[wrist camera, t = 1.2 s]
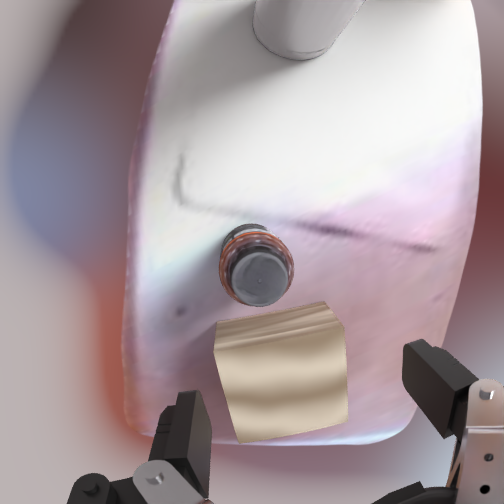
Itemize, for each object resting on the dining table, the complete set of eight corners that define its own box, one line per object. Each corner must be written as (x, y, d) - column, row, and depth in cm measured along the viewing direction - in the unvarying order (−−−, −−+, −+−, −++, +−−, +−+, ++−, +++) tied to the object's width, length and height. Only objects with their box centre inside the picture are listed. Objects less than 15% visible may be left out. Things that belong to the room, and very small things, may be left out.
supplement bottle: (275, 282, 34) (294, 325, 23) (218, 275, 34) (212, 317, 23) (283, 226, 33) (308, 244, 22) (225, 218, 33) (221, 234, 22)
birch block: (216, 321, 35) (213, 352, 28) (324, 301, 35) (344, 326, 28) (237, 406, 37) (238, 443, 30) (331, 387, 37) (347, 421, 31)
